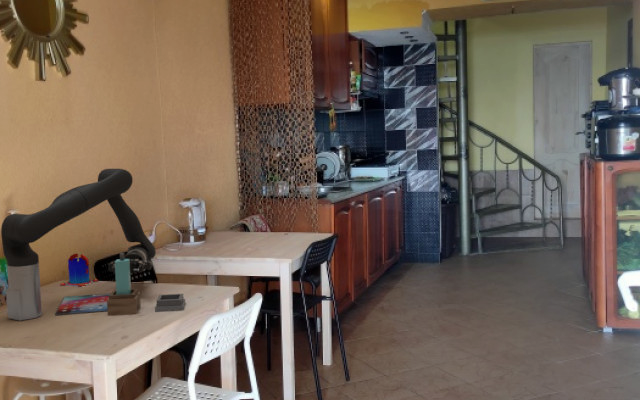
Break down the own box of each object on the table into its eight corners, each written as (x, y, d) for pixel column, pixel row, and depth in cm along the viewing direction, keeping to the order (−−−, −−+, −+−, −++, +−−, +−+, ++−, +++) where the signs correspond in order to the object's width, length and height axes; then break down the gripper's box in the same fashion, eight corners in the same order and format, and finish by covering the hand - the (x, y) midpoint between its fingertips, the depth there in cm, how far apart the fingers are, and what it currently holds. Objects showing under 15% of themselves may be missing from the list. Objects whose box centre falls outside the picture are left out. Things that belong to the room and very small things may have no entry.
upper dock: (136, 313, 207) (135, 295, 207) (107, 315, 206) (106, 296, 206) (140, 306, 216) (139, 288, 216) (113, 307, 215) (112, 289, 214)
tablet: (119, 294, 235) (119, 292, 235) (116, 312, 211) (116, 309, 211) (63, 298, 230) (63, 296, 230) (54, 317, 206) (54, 314, 206)
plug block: (129, 297, 209) (127, 253, 207) (116, 297, 209) (114, 254, 207) (131, 294, 213) (129, 251, 211) (118, 294, 212) (116, 252, 211)
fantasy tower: (101, 280, 256) (99, 251, 254) (82, 287, 244) (81, 256, 243) (76, 279, 259) (74, 250, 258) (56, 286, 248) (54, 255, 246)
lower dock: (183, 310, 211) (182, 300, 210) (155, 311, 210) (154, 301, 209) (185, 303, 220) (184, 293, 219) (158, 304, 219) (158, 294, 218)
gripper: (114, 251, 233) (105, 259, 217) (154, 249, 235) (148, 258, 219) (115, 271, 234) (106, 281, 218) (154, 269, 236) (148, 279, 220)
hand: (127, 269), depth 218 cm, fingers open, 8 cm apart
